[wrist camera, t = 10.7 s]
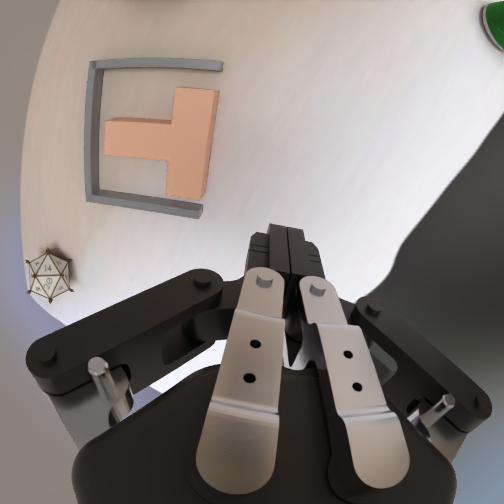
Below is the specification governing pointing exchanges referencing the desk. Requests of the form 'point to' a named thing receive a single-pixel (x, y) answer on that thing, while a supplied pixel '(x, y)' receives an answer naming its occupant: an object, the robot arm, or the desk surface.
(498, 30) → the soda can
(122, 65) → the charcoal bay
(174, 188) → the T block
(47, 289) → the game die
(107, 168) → the desk surface
